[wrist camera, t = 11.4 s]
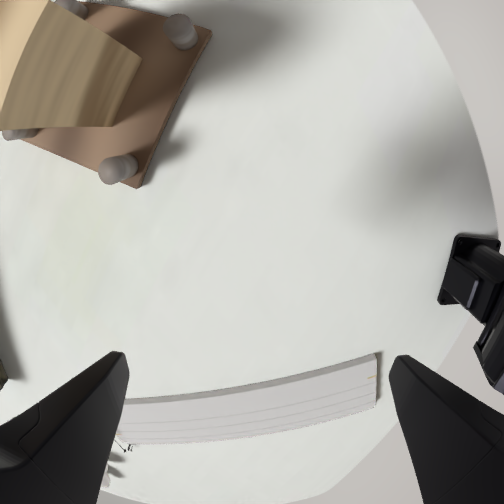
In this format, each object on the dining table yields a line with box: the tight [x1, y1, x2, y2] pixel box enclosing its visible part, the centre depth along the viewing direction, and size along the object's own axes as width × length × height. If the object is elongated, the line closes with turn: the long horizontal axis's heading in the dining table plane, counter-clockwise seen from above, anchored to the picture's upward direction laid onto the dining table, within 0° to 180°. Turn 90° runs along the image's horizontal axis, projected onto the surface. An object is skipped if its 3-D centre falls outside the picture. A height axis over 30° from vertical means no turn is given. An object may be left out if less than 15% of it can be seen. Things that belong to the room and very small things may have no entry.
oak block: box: [0, 0, 143, 131], centre depth 11 cm, size 5×5×11 cm
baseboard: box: [116, 353, 377, 452], centre depth 27 cm, size 30×3×10 cm
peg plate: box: [2, 0, 212, 189], centre depth 15 cm, size 12×12×4 cm
